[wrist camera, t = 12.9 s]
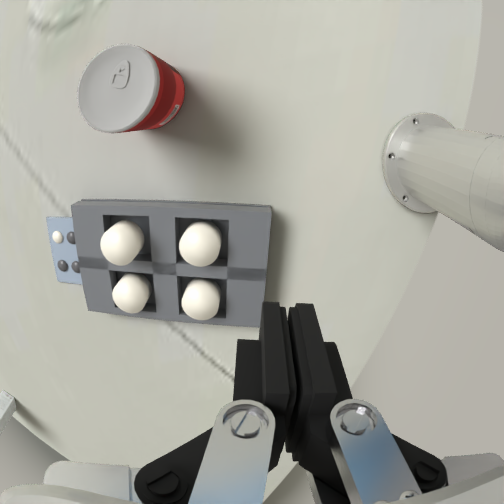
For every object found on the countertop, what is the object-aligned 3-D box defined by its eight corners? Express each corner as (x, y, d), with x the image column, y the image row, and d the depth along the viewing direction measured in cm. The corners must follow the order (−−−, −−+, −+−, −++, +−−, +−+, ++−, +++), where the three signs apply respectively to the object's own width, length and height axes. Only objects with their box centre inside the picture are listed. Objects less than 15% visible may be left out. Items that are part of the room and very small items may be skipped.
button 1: (143, 220, 34) (134, 229, 32) (145, 256, 36) (137, 267, 33) (109, 219, 34) (98, 227, 31) (112, 253, 36) (102, 264, 33)
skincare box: (2, 388, 54) (-19, 419, 43) (14, 397, 55) (-5, 429, 44) (4, 400, 56) (-14, 430, 45) (16, 408, 57) (-2, 439, 46)
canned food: (188, 61, 30) (161, 37, 20) (185, 128, 33) (155, 131, 23) (125, 66, 30) (79, 50, 20) (122, 130, 33) (75, 137, 23)
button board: (270, 205, 36) (271, 212, 34) (260, 314, 42) (261, 327, 40) (45, 199, 36) (33, 205, 33) (62, 294, 42) (52, 304, 39)
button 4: (221, 277, 38) (218, 290, 36) (220, 308, 40) (218, 321, 37) (185, 275, 38) (180, 287, 35) (186, 305, 40) (182, 318, 37)
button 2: (150, 272, 38) (143, 284, 35) (153, 302, 40) (146, 315, 37) (118, 270, 38) (109, 281, 35) (123, 299, 40) (115, 311, 37)
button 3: (222, 221, 35) (219, 229, 33) (221, 256, 37) (219, 267, 34) (184, 219, 35) (178, 227, 33) (185, 254, 37) (179, 265, 34)
